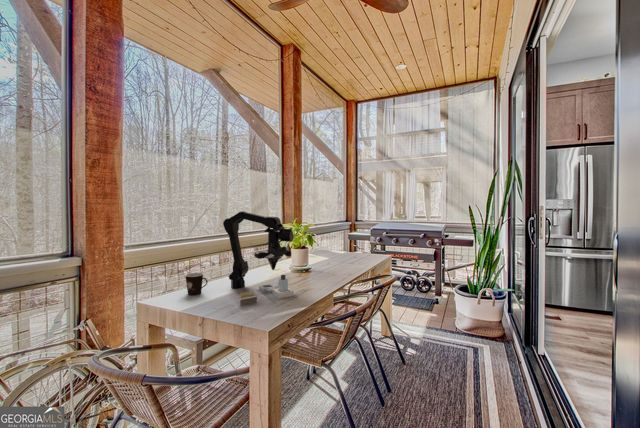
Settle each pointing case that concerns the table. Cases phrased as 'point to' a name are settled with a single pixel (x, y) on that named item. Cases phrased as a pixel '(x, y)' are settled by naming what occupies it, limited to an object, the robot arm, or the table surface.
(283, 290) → the plug
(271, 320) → the table surface
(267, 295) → the panel board
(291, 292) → the port block
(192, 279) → the coffee mug
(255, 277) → the table surface
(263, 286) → the hollow square tube
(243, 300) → the platform
